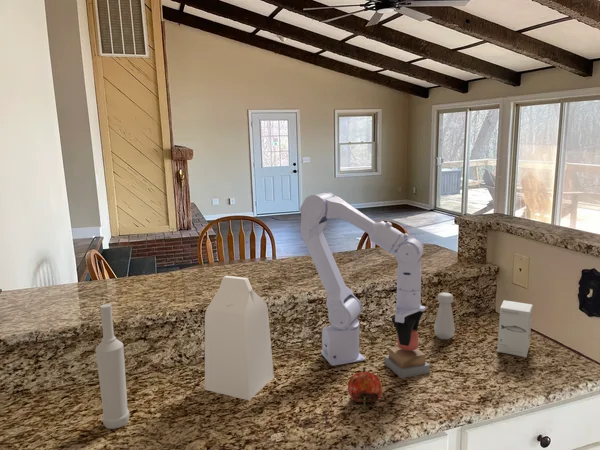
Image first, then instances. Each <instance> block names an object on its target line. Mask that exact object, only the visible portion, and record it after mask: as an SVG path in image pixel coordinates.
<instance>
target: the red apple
mask: <svg viewBox="0 0 600 450" xmlns="http://www.w3.org/2000/svg"><path fill="white" fill-rule="evenodd" d="M383 389H384V388H383V385H382V382H381V380H380V378H379V376H377V375H376V374H375V373H372V372H370V371H367V370H366V367H365V366H364V367H362V372H356V373H355V374H353V375H351V376H350V378H349V380H348V383H347V392H348V393H349V396H350V397H351V399H352V401H354V402H355V403H363V413H365V412H366V408H365V407H366V402H368V403H376V402H378V400H379V399H380V397H381V396H382V394H383Z"/></svg>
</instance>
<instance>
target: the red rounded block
mask: <svg viewBox="0 0 600 450" xmlns="http://www.w3.org/2000/svg"><path fill="white" fill-rule="evenodd" d="M396 343H397V346H398V347H399V348H400V349H403V350H415V349H419V332H418V330H417V331H416V330H414V329H412V333H411V339H410V343H409V345H408V346H406V345H401V344H400V342H399V338H398V337H397V342H396ZM397 346H396V347H397Z"/></svg>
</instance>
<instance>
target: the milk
mask: <svg viewBox="0 0 600 450" xmlns="http://www.w3.org/2000/svg"><path fill="white" fill-rule="evenodd" d="M269 319H270V318H269V307H268V304H267V303H266V301H265V300H264V299H263V298H262V297H261V296H260V295H258V293H257V292H255V291H254V290H253V287H252V284H251V283H250V280H249V278H248V277H242V276H236V275H235V276H233V275H225V276H223V277H222V279H221V282H220V284H219V288H218V290H217V292H216V293H215V295H214V296H213V298H212V299H211V301H210V303H209V305H208V307H207V309H206V310H205V314H204V390H205V391H208V392H212V393H213V392H214V393H217V394H219V395H220V394H222V395H225V396H228V397H229V396H230V397H234V398H236V399H237V398H238V399H241V400H245V401H251V400H252V398H254V397H255V396H256V395H257V394H258V393H259V392H260V391H261V390H262V389H263V388H265V387H266V386H267V384H268V383H269V382H271V380H272V379H274V378H275V375H274V374H275V373H274V363H273V362H274V361H273V352H272V343H271V342H272V340H271V330H270V329H271V328H270V320H269Z"/></svg>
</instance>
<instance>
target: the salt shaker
mask: <svg viewBox="0 0 600 450" xmlns="http://www.w3.org/2000/svg"><path fill="white" fill-rule="evenodd" d="M437 302H439V305H438V310H437V312H436V313H437V314H436V317H435V322H434V326H433V330H434V333H435V335H436V338H437V339H440V340H450V339H452V338H453V336H454V334H455V331H456V329H455V322H454V315H453V309H452V303H453V302H454V295H453V294H452V293H449V292H444V291H443V292H439V293H438V294H437Z"/></svg>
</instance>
